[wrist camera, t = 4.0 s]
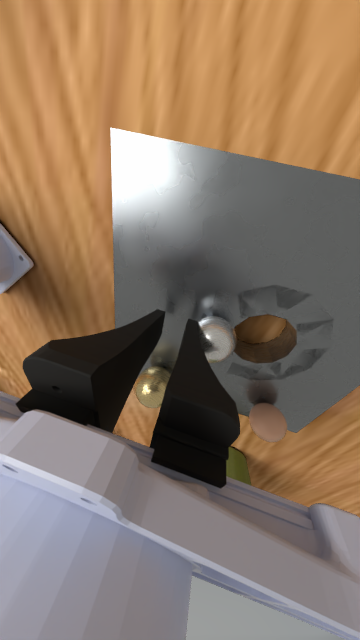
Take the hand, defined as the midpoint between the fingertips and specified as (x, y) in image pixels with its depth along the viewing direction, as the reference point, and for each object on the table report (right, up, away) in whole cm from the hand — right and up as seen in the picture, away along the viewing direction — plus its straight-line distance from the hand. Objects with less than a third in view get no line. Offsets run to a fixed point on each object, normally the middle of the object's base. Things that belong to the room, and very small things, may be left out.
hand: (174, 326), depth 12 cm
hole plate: (+5, +1, +3) cm, 6 cm away
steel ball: (+3, -1, 0) cm, 3 cm away
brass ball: (-2, -6, +4) cm, 7 cm away
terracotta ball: (+8, -9, +3) cm, 12 cm away
